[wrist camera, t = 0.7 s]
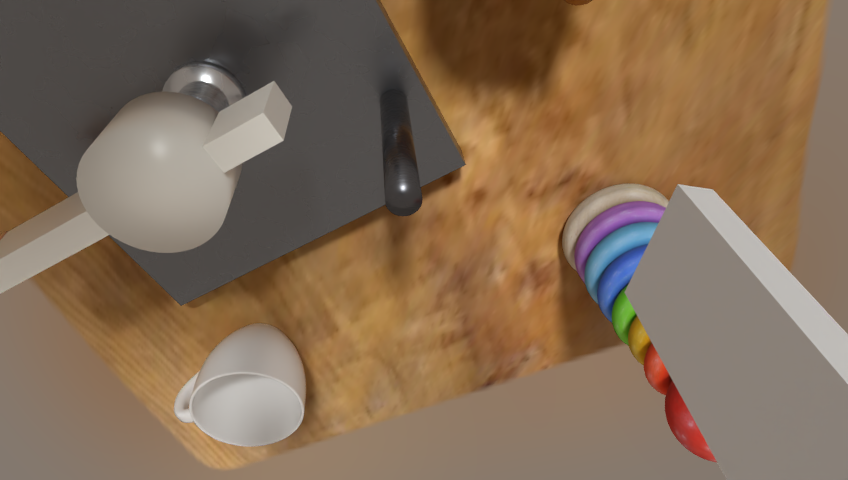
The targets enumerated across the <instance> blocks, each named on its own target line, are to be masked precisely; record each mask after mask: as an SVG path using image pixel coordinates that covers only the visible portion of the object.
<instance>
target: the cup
mask: <svg viewBox="0 0 848 480" xmlns="http://www.w3.org/2000/svg"><path fill="white" fill-rule="evenodd" d="M305 400H306V378H305V371H304V367H303V364H302V361H301V358H300V356H299V354H298V352H297V350H296V348H295V346H294V345H293V343H292V342H291V341H290V340H289V338H288V337H287V336H286V335H285V334H284V333H283V332H282V331H281V330H279V329H278V328H276V327H274V326H272V325H268V324H263V323H255V324H250V325H246V326H244V327H242V328H240V329H238V330H236V331H234V332H233V333H231V334H229V335H228V336H227V337H225V338H224V339H223V340H222V341H221V342H220V343H219V344H218V345H217V346H216V347H215V348H214V349H213V350H212V351H211V353H210V354H209V355H208V357H207V358H206V360H205V362H204V363H203V365H202V367H201V369H200V371H199V372H197V373H196V374H195V375H194V376H193V377H192V378H191V379H190V380H189V381H188V382H187V383H186V384H185V385H184V386H183V387H182V388H181V390H180V391H179V393H178V395H177V397H176V399H175V403H174V412H175V415H176V417H177V418H178V419H179V420H180V421H182V422H184V423H192V422H194V423H195V424H196V425H197V426H198V427H199V428H200V429H201V430H202V431H203V432H204V433H206V434H207V435H209V436H210V437H212V438H214V439H216V440H219V441H221V442H224V443H228V444H232V445H237V446H263V445H268V444H272V443H275V442H278V441H281V440H283V439H285V438H287V437H288V436H290V435H291V434H292V433H294V432H295V431H296V430H297V429H298V427H299V426H300V424H301V422H302V420H303V417H304V410H305ZM188 408H189V409H188Z"/></svg>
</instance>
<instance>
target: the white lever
mask: <svg viewBox="0 0 848 480" xmlns="http://www.w3.org/2000/svg"><path fill="white" fill-rule="evenodd" d="M291 109H292V106H291V104H290V103H289V101H288V100H287V98H286V97H285V95H284V94H283V93H282V91H281V90H280V88H279V87H278V85H277V84H276V83H275V81H273V82H271V83H269V84H267V85H266V86H264V87H262V88H260V89H259V90H257V91H255V92H253V93H252V94H250V95H248V96H246V97H244V98H243V99H241V100H239V101H237V102H236V103H234V104H232V105H230V106H229V107H227V108H225V109H223V110H222V111H220V112H218V111H217V110H215V109H214V108H213V107H211V106H210V105H208V104H207V103H205V102H203V101H201V100H199V99H197V98H194V97H192V96H189V95H185V94H181V93H176V92H153V93H148V94H144V95H141V96H139V97H137V98H135V99H133V100H131V101H130V102H128V103H127V104H126V105H125V106H124V107H123V108H122V109H120V111H119V112H118V113H117V114H116V115H115V117H114V118H113V119H112V120H111V121H110V123H109V124H108V125H107V126H106V127H105V129H104V130H103V131H102V132H101V133H100V135H99V136H98V137H97V138H96V139H95V141H94V142H93V143H92V144H91V145H90V147H89V148H88V149H87V150H86V152H85V153H84V155H83V156H82V158H81V160H80V162H79V165H78V169H77V177H76V181H77V189H78V192H77V193H75V194H73V195H72V196H70V197H68V198H66V199H65V200H63V201H61V202H59V203H58V204H56V205H54V206H52V207H51V208H49V209H47V210H45V211H43V212H42V213H40V214H38V215H36V216H35V217H33V218H31V219H29V220H28V221H26V222H24V223H22V224H21V225H19V226H17V227H15V228H13V229H12V230H10V231H6V232H4V233H2V234H0V294H1V293H3V292H5V291H7V290H8V289H10V288H12V287H14V286H16V285H17V284H20V283H21V282H23V281H25V280H27V279H29V278H31V277H32V276H34V275H36V274H38V273H40V272H42V271H44V270H45V269H47V268H49V267H51V266H53V265H55V264H57V263H58V262H60V261H62V260H64V259H66V258H68V257H69V256H71V255H73V254H75V253H77V252H79V251H81V250H82V249H84V248H86V247H88V246H90V245H92V244H93V243H95V242H97V241H99V240H101V239H103V238H105V237H106V236H108V235H111V236H112V237H114V238H116V239H117V240H119V241H121V242H123V243H125V244H127V245H130V246H132V247H135V248H138V249H141V250H146V251H150V252H157V253H175V252H182V251H187V250H190V249H193V248H196V247H198V246H200V245H202V244H204V243H205V242H207V241H208V240H209V239H211V238H212V237H213V236H214V235H215V234H216V233H217V232H218V230H219V229H220V227H221V226H222V224H223V222H224V219H225V217H226V214H227V211H228V208H229V205H230V202H231V200H232V197H233V194H234V191H235V188H236V185H237V182H238V179H239V177H240V174H241V170H242V163H243V162H245V161H247V160H249V159H251V158H252V157H254V156H256V155H258V154H260V153H262V152H264V151H265V150H267V149H269V148H271V147H273V146H275V145H276V144H278V143H280V142H282V141H284V137H285V133H286V129H287V125H288V121H289V117H290V113H291Z"/></svg>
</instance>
